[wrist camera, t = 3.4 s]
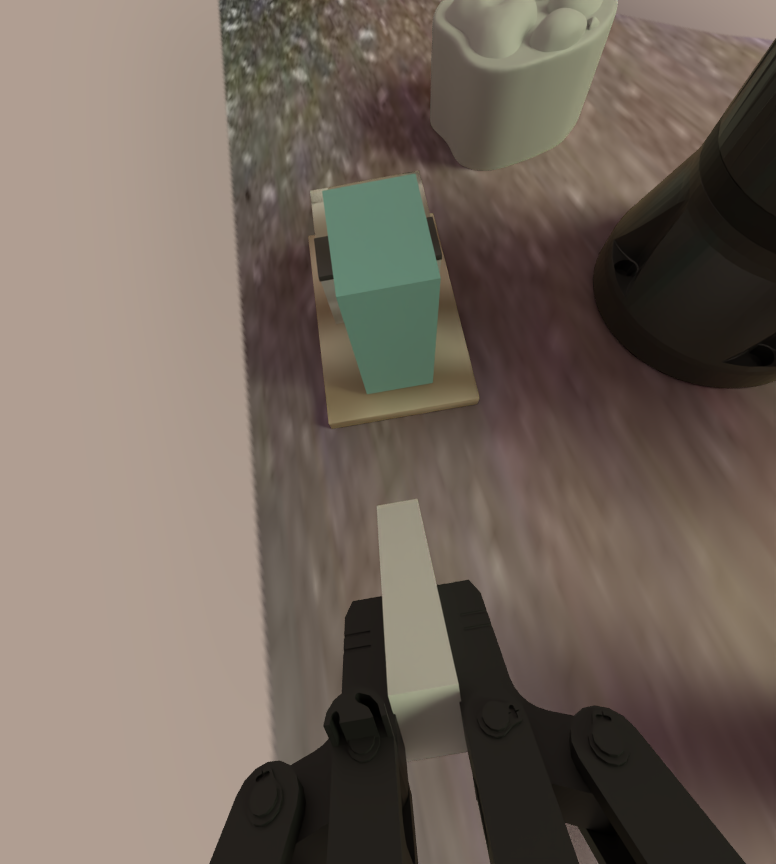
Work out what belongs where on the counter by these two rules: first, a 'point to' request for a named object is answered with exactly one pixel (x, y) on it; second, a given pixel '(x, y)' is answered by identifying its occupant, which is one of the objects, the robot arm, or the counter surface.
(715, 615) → the counter surface
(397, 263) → the teal block
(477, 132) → the lumpy-topped squat cylinder
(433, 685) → the robot arm
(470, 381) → the guide channel
